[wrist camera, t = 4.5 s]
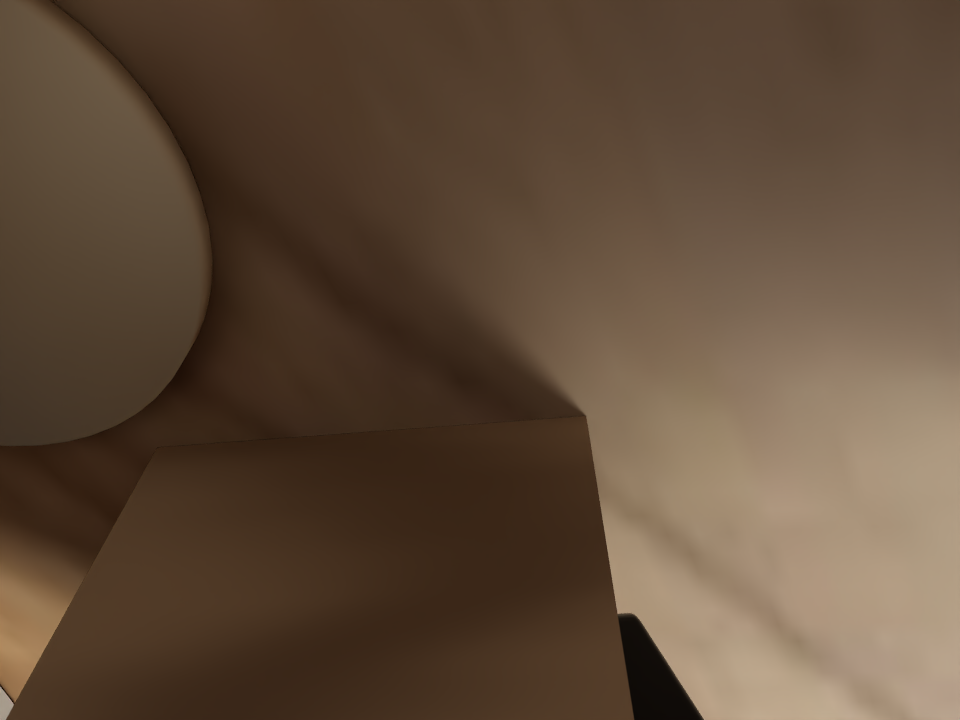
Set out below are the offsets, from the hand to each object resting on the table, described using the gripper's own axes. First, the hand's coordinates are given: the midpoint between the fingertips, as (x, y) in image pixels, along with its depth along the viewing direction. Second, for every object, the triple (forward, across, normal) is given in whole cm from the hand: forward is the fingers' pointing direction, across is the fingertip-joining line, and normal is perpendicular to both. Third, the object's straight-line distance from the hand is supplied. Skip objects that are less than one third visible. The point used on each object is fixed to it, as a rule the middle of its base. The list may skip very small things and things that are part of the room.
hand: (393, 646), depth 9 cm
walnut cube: (+1, 0, 0) cm, 1 cm away
